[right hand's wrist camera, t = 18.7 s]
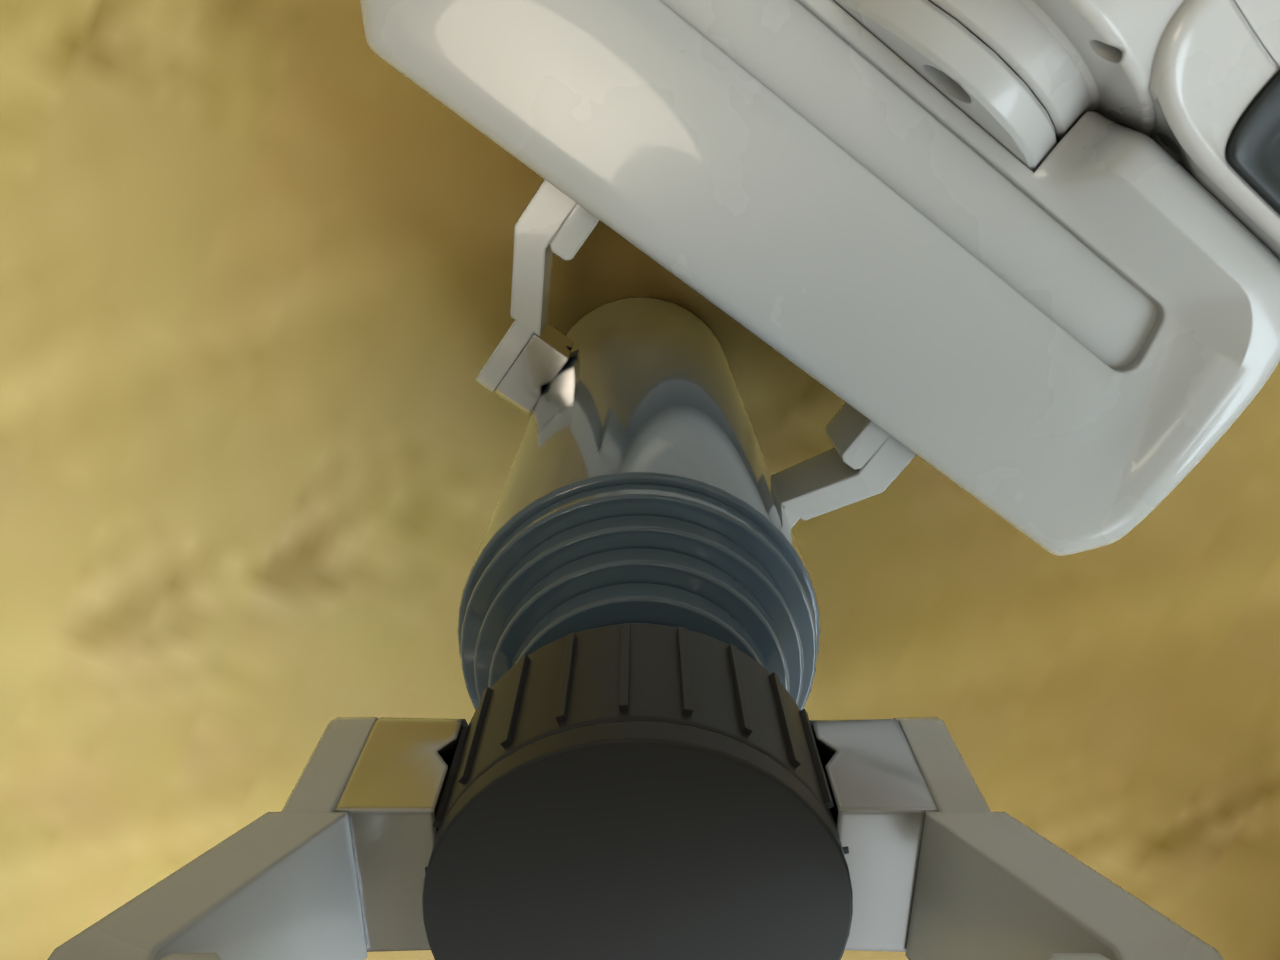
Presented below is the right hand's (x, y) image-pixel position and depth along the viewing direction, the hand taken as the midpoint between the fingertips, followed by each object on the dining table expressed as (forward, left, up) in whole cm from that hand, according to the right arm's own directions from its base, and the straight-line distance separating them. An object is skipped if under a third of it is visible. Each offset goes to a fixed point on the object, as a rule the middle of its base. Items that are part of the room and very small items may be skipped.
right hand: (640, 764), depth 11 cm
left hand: (0, +1, -12) cm, 12 cm away
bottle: (0, 0, -17) cm, 17 cm away
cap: (0, 0, +2) cm, 2 cm away
